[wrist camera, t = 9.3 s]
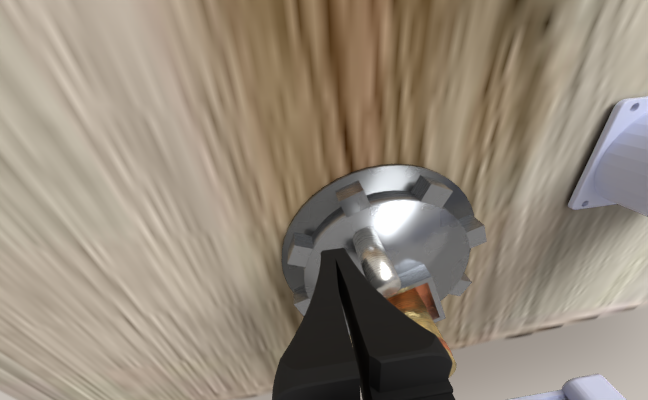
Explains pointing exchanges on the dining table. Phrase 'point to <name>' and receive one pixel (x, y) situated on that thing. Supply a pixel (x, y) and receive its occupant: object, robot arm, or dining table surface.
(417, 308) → the roller
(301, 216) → the base flange
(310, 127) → the dining table surface
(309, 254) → the grey toothed wheel
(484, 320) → the dining table surface
